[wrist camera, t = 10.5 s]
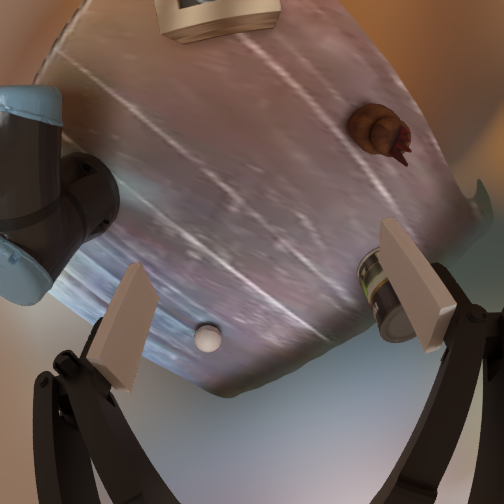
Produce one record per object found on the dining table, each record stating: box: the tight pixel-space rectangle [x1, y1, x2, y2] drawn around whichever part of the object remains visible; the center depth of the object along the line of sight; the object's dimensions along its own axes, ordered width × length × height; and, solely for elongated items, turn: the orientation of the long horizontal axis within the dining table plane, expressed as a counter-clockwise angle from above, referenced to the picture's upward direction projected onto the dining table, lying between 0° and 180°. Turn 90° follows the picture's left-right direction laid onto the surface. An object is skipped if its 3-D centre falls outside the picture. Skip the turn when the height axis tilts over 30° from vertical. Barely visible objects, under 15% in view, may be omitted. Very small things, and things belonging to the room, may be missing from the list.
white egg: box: [192, 325, 221, 352], centre depth 57 cm, size 8×6×6 cm
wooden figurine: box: [349, 104, 412, 167], centre depth 31 cm, size 7×6×15 cm
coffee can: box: [357, 247, 417, 343], centre depth 46 cm, size 10×10×14 cm
